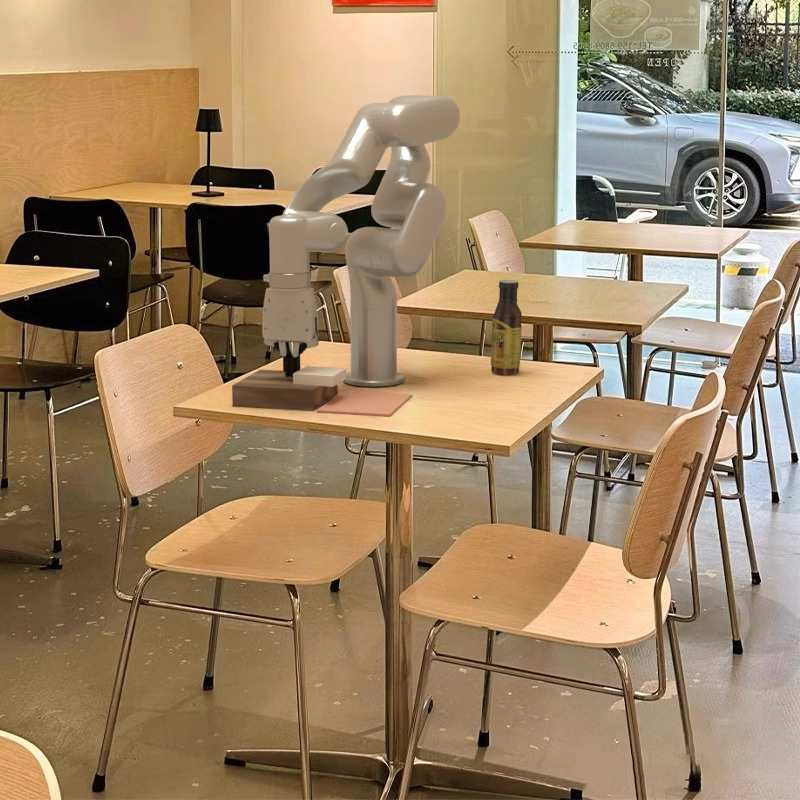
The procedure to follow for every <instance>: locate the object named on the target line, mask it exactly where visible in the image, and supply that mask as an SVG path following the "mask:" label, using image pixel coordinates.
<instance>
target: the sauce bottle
mask: <svg viewBox="0 0 800 800" xmlns="http://www.w3.org/2000/svg"><path fill="white" fill-rule="evenodd" d="M498 288H499V292H498V293H499V297H498V302H497V306H496V308H495V310H494V313H493V316H492V320H491V321H492V323H491V324H492V325H491V342H490V343H491V344H490V345H491V351H490V366H491V368H490V371H491V373H492V374H495V375H498V376H515V375H518V374H519V373H520V366H521V352H522V351H521V349H522V331H523V329H522V318H523V317H522V311H521V309H520V307H519V305H518V288H519V281H518V280H514V279H501V280H499V283H498Z"/></svg>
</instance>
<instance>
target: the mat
mask: <svg viewBox="0 0 800 800" xmlns="http://www.w3.org/2000/svg"><path fill="white" fill-rule="evenodd" d="M412 397H413V394H412V393H396V392H395V393H394V392H392V393H391V392H380V391H379V392H378V391H376V392H375V391H359V390H358V391H357V390H342V391H341V392H340V393H337V394H336V395H334V396H333V397H332V398H330V399H329V401H328V402H327V401H326V402H325V403H324V405H323V404H322V405H321V406H319V407H318V408H317V409H316V412H317V413H323V414H325V413H326V414H338V413H339V415H340V414H343V415H359V416H372V417H376V416H377V417H391V416H392V415H393V414H394V413H395V412H397V411H398V410H399V409H401V407H402V406H403V405H405V403H407V402H408V401H409V400H410V399H411V398H412Z"/></svg>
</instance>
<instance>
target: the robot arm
mask: <svg viewBox="0 0 800 800" xmlns="http://www.w3.org/2000/svg"><path fill="white" fill-rule="evenodd" d="M460 119H461V112H460V108H459V106H458V104H457V103H456V102H455V101H454V99H452V98H451V97H448V96H447V95H418V94H416V95H413V94H412V95H410V94H409V95H408V94H407V95H400V96H396V97H393V98H391V99H390V100H389V101H388V102H372V103H371V102H370V103H367V104H364V105H363V106H362V107H361V108H359V110H357V112H356V114H355V116H354V118H353V120H352V122H351V123H350V124H349V126H348V129H347V130H346V131H345V134H344V136H343V138H342V140H341V142H340V144H339V146H337V149H336V151H335V153H334V154H333V156H332V158H331V159H330V161H329V162H327V164H326V165H323V166H322V167H321V168H319V169H318V170H317V171H316V172H315V173H314V174H312V175H311V176H309V178H308V179H306V180H305V181H304V182H303V183H301V184H300V186H298V187H297V189H296V190H295V191H294V193H293V194H292V196H291V198H290V199H289V201H288V203H287V205H286V206H285V209H284V210H283V211H282V212H283V213H282V214H281V215H276V216H274V217H272V218H271V219H270V220H269V224H268V229H269V230H268V231H269V232H268V233H269V234H268V236H269V240H268V241H269V272H268V273H267V274H263V276H262V278H263V282H267V283H269V284H268V285H269V287H267V288H266V289H265V293H264V294H265V295H264V300H263V308H262V309H263V310H262V320H261V321H262V325H261V326H262V328H261V329H262V331H261V332H262V334H261V335H262V337H263V338H264V340H263V344H264V345H266V346H270V347H274V348H275V350H277V351H278V352H279V355H280V356H281V357H282V371H284V372H285V377H293V373H295V372H297V371H299V370H300V369H301V355H302V354H303V353H304V352H305V351H306V350H307V349H312V348H316V347H317V346H319V345H320V343H319V338H318V336H319V316H318V308H317V307H318V306H317V300H316V297H315V296H316V295H315V291H314V288H313V287H311V276H310V274H311V271H310V267H311V265H310V261H311V260H310V258H311V257H310V253H312V252H313V253H314V252H317V253H333V252H335V251H338V250H339V249H342V247H343V246H344V245H345V248H344V255H345V256H344V257H345V262H346V268H347V272H348V280H349V292H350V293H349V295H350V303H349V305H350V310H349V311H350V316H349V317H350V318H349V320H350V372H349V371H348V372H346V379H345V380H343V381H342V382H344V383H346V384H348V385H351V386H358V387H371V388H372V387H376V388H377V387H389V386H395V385H399V384H402V383H404V381H405V375H404V373H402V372H398V296H397V290H396V287H395V284H394V281H393V278H400V279H411V278H414V277H416V276H417V275H419V274H420V273H421V272H422V270H423V269H424V267H425V265H426V263H427V262H428V260H429V258H430V255H431V253H432V250H433V248H434V246H435V243H436V242H437V238H438V236H439V235H440V231H441V229H442V226H443V224H444V222H445V219H446V212H447V202H446V201H447V200H446V197H445V194H444V192H443V191H442V189H441V188H440V187H438V186H437V185H435V184H432V183H429V182H427V181H428V177H429V175H430V172H431V159H430V155H429V152H428V150H427V147H426V146H425V145H427V144H429V143H430V144H431V143H434V142H438V141H443V140H446V139H448V138H449V137H451V136H452V135H454V133H455V132H456V131H457V129H458V127H459V125H460V121H461V120H460ZM389 147H391V148H390V149H391V150H390V151H391V153H390V159H389V163H388V165H387V167H386V170H385V172H384V174H383V177H382V179H381V181H380V184H379V186H378V188H377V190H376V193H375V195H374V198H373V201H372V203H371V206H370V207H371V211H370V212H371V213H370V214H371V217H372V218H373V220H374V221H375V222H376V223H378V224H379V225H380V226H383V227H379V226H365V227H361V228H358V229H356V230H354V231H352V233H351V234H350V235H349V229H348V225H347V224H346V222H345V220H343V218H342V217H340V216H338V215H336V214H334V213H330V212H329V213H328V212H321V210H322V209H323V208H324V207H325V206H327V205H328V204H329V203H331V202H332V201H334V200H336V199H338V198H340V197H342V196H345V195H347V194H350V193H353V192H356V191H357V190H359V189H361V188H363V187H365V186H366V185H367V184H369V182H370V181H371V178H372V177H373V175H374V173H375V170H376V169H377V167H378V165H379V164H380V162H381V160H382V157H383V156H384V154H385V153H386V151H387V149H388V148H389ZM291 343H292V350H291Z"/></svg>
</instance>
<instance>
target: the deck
mask: <svg viewBox="0 0 800 800" xmlns="http://www.w3.org/2000/svg"><path fill="white" fill-rule="evenodd" d="M231 390H232V391H231V393H232V395H231V396H232V397H231V400H232V407H243V408H259V409H274V410H275V409H276V410H294V411H295V410H296V411H308V412H309V411H312V412H314V411H316V410H317V409H319V408H320V407H322V406H323V404H326V403H327V401H328V400H329V401H330V400H331V399H332V398H334V397H335V396H336V395H338V384H337V385H335V386H334V387H329V386H315V385H301V384H293V377H285V372H284V371H283V370H280V369H279V370H277V369H259V370H257V371H256V372H254V373H251V374H250V375H248V376H246V377H245V378H243V379H241V380H239V381H237V382H236V383H233V384H232V385H231ZM335 394H336V395H335ZM331 397H332V398H331Z"/></svg>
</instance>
